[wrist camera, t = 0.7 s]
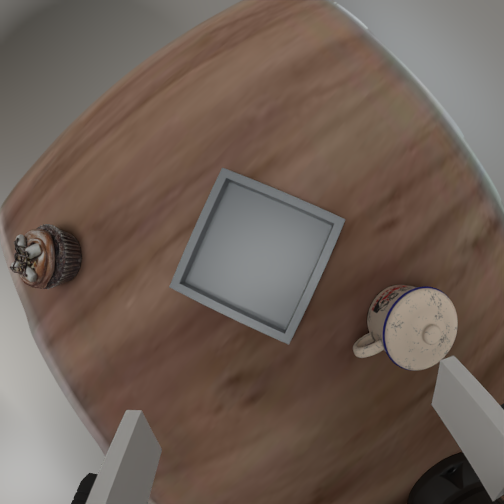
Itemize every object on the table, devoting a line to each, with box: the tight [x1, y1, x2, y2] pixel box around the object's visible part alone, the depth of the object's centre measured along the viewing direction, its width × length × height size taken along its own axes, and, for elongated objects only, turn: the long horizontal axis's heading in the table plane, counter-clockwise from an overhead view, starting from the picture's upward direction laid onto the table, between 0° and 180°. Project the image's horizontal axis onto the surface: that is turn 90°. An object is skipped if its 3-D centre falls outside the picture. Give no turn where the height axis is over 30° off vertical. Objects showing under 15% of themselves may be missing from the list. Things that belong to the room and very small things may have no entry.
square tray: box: [170, 168, 345, 344], centre depth 38 cm, size 16×16×3 cm
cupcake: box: [10, 224, 82, 289], centre depth 38 cm, size 10×10×10 cm
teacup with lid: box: [353, 285, 458, 370], centre depth 31 cm, size 12×9×12 cm
